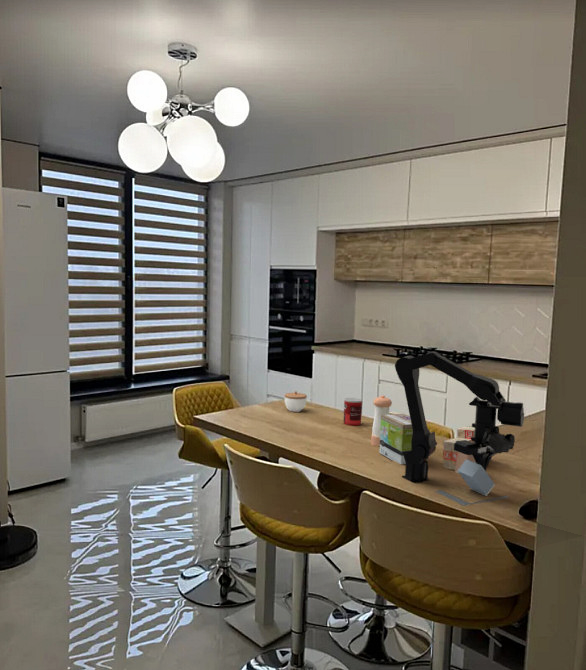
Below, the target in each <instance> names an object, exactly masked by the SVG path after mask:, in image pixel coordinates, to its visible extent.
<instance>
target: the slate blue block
mask: <svg viewBox="0 0 586 670" xmlns="http://www.w3.org/2000/svg"><path fill="white" fill-rule="evenodd" d="M457 471H458V472H459V473H458V474H459V475H460V476H461V478H462V479H463V481H464V482H465V483H466V485H467V486H468V487H469V489H470V490H472V491H474V492H476V493H479V494H481V495H483V496H485V497H487V496H488V495H489V493H490V492H491V491H492V490H493V488H494V487H495V486H496V484H495V482H494V481H493V479H492V478H491V477H490V476H489V474H488V473H487V470H486V471H485V470H484V468H483V467H482V466H481V465H479V464H477V463H474V462H472V461H469V460H465V461H464V463H463V464H462V465H461V467H460V468H459V469H458V470H457Z"/></svg>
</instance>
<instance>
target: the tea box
mask: <svg viewBox="0 0 586 670" xmlns="http://www.w3.org/2000/svg"><path fill="white" fill-rule="evenodd" d="M426 425H428V423H427V422H426ZM412 433H413V429H412V424H411V419H410V415H408V414H405V413H392V414H390V413H389V415H381V429H380V447H379V454H381V455H382V456H385V457H386V458H388V459H389V460H391V461H392V462H395V463H397V464H400V465H406V462H405V459H404V455H406V454H407V453H408V452H410V451H411V450H412V447H411V440H412Z"/></svg>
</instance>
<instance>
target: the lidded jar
mask: <svg viewBox="0 0 586 670" xmlns="http://www.w3.org/2000/svg"><path fill="white" fill-rule="evenodd" d="M306 404H307V394H305V393H302V392H298V391H296V390H295V391H294V392H287V393H284V405H285V407H286V408H287V410H288V411H289V412H293V413H299V412H302V410H304V408H305V407H306Z"/></svg>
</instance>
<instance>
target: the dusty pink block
mask: <svg viewBox="0 0 586 670" xmlns="http://www.w3.org/2000/svg"><path fill="white" fill-rule="evenodd" d="M465 460H469V461H472V462H474V463H476V462H475V459H474V457H473V455H466V454H463V453H460V452H458V455H457V462H456V469H455V470H454V473H456V474H459V472H458V471H457V470H458V469H459V468H460V467H461V465H462V464H463V463H464V461H465Z"/></svg>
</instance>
